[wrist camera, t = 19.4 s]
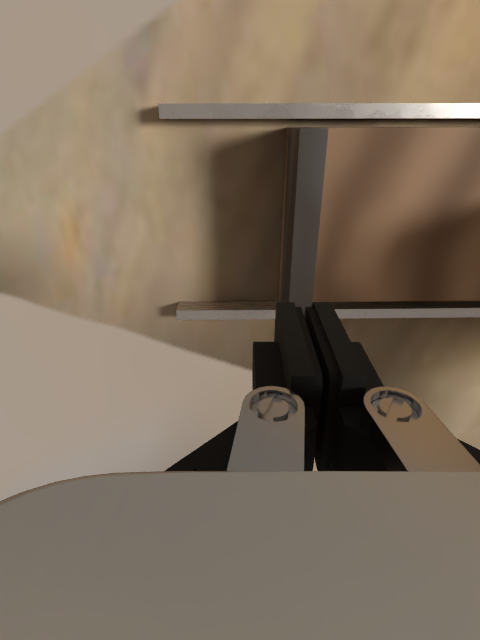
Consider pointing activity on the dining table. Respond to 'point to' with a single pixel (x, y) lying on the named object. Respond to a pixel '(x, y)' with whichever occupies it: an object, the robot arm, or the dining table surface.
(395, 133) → the brown tray
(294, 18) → the dining table surface
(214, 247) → the dining table surface
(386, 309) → the rails
